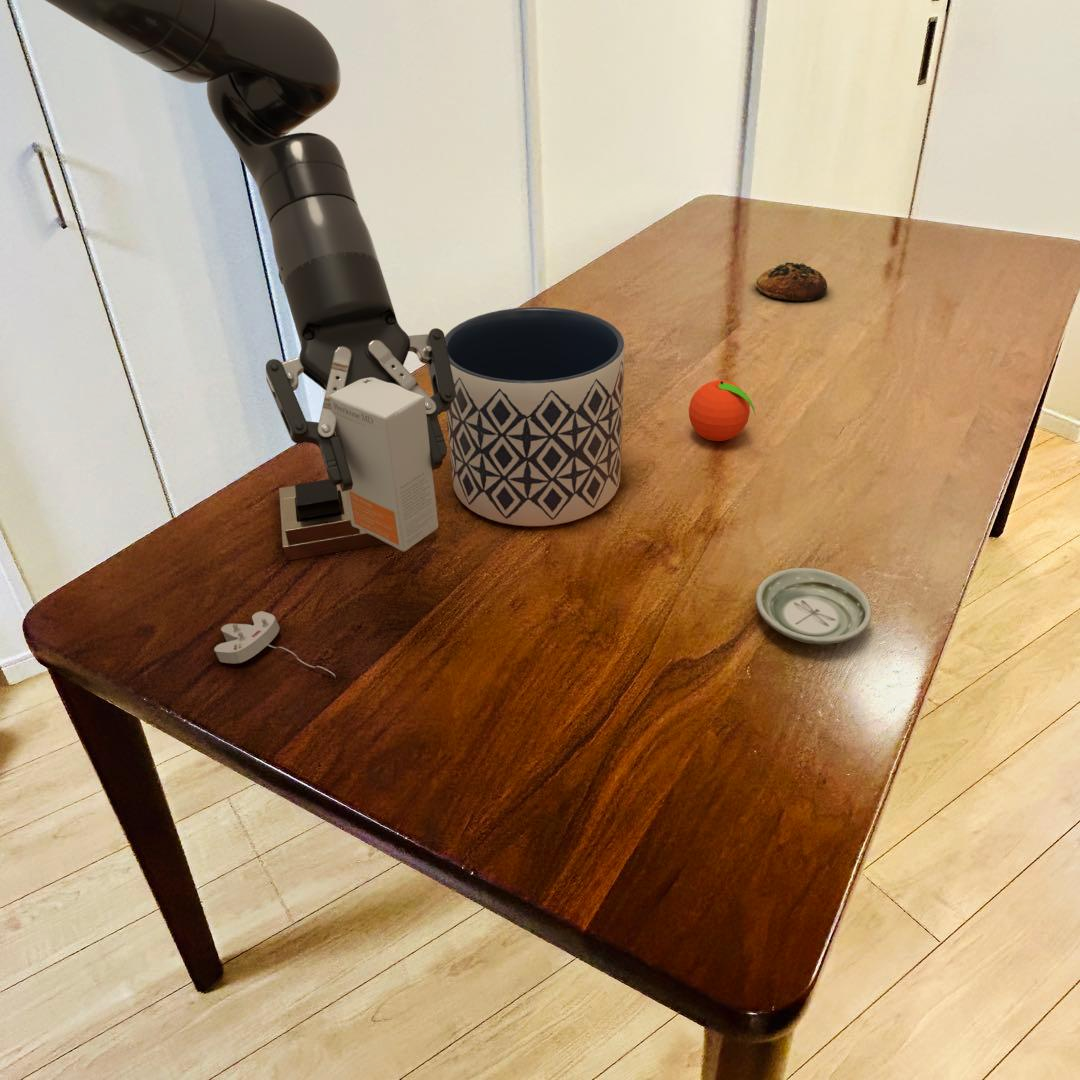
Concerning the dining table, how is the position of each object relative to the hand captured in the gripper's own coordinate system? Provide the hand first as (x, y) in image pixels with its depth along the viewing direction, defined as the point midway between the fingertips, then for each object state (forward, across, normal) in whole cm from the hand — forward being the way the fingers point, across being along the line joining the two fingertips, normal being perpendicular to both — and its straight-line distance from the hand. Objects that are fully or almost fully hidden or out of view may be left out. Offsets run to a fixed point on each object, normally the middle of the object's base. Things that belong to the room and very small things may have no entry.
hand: (393, 476), depth 68 cm
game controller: (+10, -11, +14) cm, 21 cm away
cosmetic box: (+3, 0, +5) cm, 6 cm away
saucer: (+21, +32, +4) cm, 38 cm away
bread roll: (-25, +79, +50) cm, 97 cm away
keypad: (-3, 0, +27) cm, 27 cm away
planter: (-1, +20, +26) cm, 32 cm away
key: (-4, -3, +24) cm, 24 cm away
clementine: (-1, +43, +25) cm, 50 cm away
